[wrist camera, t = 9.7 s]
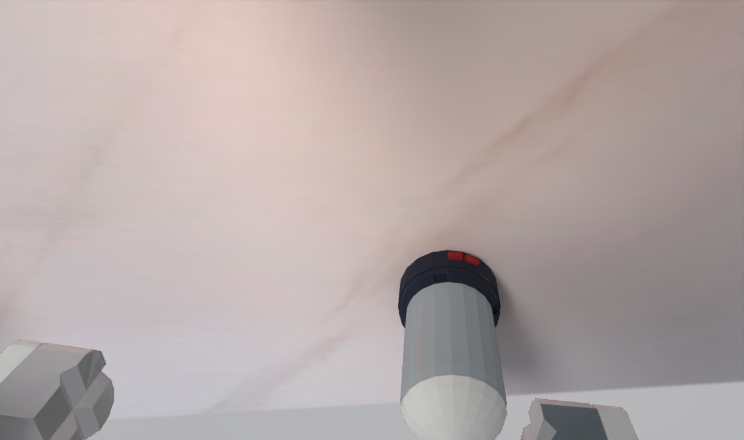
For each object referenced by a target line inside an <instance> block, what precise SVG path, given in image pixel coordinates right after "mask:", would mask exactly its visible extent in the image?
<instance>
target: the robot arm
mask: <svg viewBox="0 0 744 440" xmlns="http://www.w3.org/2000/svg"><path fill="white" fill-rule="evenodd" d="M105 365H106V362H105V360H104V357H103V354H102V352H101V351H98V350H93V349H86V348H78V347H71V346H64V345H57V344H50V343H41V342H33V341H25V340H20V341H17V342H15V343H13V344H11V345H9V346H8V347H7V348H6V349H5V350H4V351H3V352H2V353H1V354H0V440H85V439H87V438H88V437H90V436H92V435H93V434H95V433H96V432H98V431H99V430H100V429H101V428H102V426H103V425H104V423H105V421H106V420H107V418H108V417H109V414H110V411H111V408H112V405H113V402H114V388H113V384H112V381H111V380H110V379H109V378H108V377H107V376H106V375H105V374H104V373H103V372H102V371H101V370H102V369H103V367H104V366H105ZM529 415H530V420H531V424H529V425H528V426H526V427H525V428H524V429H523V433H522V437H521V440H638V438H637V436H636V433H635V431H634V429H633V426H632V424H631V421H630V419H629V417H628V414H627V412H626V411H625V410H624V409H623V408H620V407H611V406H602V405H591V404H587V403H577V402H567V401H557V400H547V399H536V398H535V400H534V401H533V402H532V404H531V407H530V410H529Z"/></svg>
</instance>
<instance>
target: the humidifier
mask: <svg viewBox="0 0 744 440" xmlns="http://www.w3.org/2000/svg"><path fill="white" fill-rule="evenodd" d="M398 309H399V315H400V318H401V322H402V325H403V326H404V328H405V339H404V354H403V369H402V384H401V399H400V402H401V413H402V416H403V419H404V422H405V424H406V426H407V428H408V430H409V431H410V432H411V434H412V435H413V436H414V437H415V438H416V439H417V440H494V439H495V438H496V437H497V436H498V435H499V434H500V432H501V430H502V427H503V425H504V421H505V418H506V415H507V411H506V405H507V402H506V396H505V389H504V383H503V377H502V370H501V364H500V358H499V351H498V345H497V339H496V332H495V327H496V326H497V323H498V319H499V315H500V300H499V294H498V289H497V283H496V278H495V276H494V275H493V273H492V271H491V270H490V268H489V267H488V266H487V265H486V264H485V263H483V262H482V261H481V260H480V259H478V258H477V257H474V256H472V255H469V254H467V253H464V252H458V251H449V250H445V251H439V252H432V253H429V254H427V255H425V256H423V257H420V258H418V259H417V260H416V261H414V262H413V263H412V264H411V265H410V266H409V267H408V268H407V269H406V271H405V273H404V274H403V276H402V278H401V283H400V291H399V302H398Z"/></svg>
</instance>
